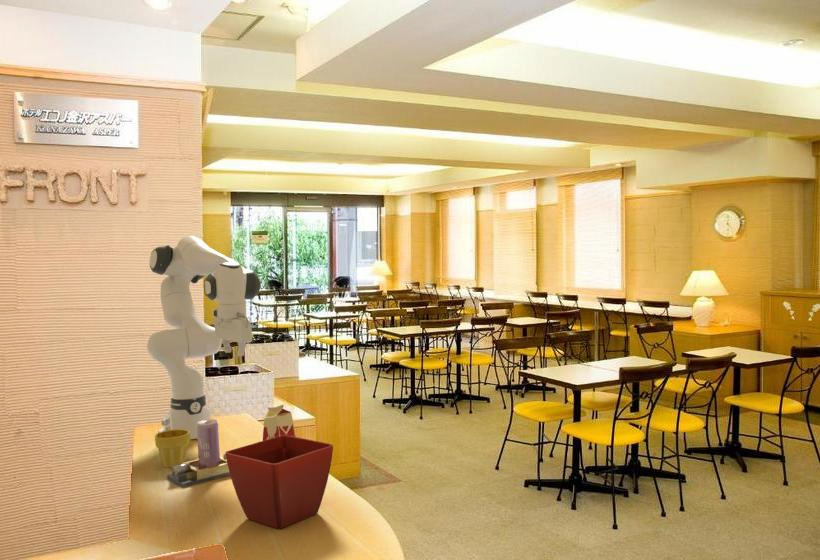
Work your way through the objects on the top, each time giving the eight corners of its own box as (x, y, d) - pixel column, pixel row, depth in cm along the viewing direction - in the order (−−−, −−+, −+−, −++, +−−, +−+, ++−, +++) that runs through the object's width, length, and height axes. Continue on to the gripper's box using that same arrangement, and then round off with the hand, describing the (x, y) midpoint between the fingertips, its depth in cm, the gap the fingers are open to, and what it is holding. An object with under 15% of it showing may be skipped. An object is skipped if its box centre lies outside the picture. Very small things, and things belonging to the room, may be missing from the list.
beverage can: (223, 468, 204) (221, 418, 204) (215, 475, 198) (213, 424, 198) (204, 468, 205) (201, 419, 204) (195, 475, 199) (193, 424, 198)
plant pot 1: (191, 466, 211) (189, 435, 211) (155, 471, 208) (153, 439, 208) (191, 457, 221) (190, 427, 221) (157, 461, 218) (155, 431, 218)
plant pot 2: (287, 496, 182) (284, 433, 181) (338, 511, 169) (335, 444, 169) (226, 520, 167) (223, 451, 166) (277, 538, 155) (274, 464, 154)
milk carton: (302, 469, 204) (299, 402, 203) (277, 477, 198) (273, 408, 197) (284, 463, 211) (281, 398, 210) (259, 471, 204) (255, 404, 203)
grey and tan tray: (167, 478, 201) (166, 462, 201) (233, 461, 214) (232, 446, 214) (183, 487, 192) (182, 470, 192) (251, 469, 206) (250, 453, 205)
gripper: (256, 313, 218) (258, 356, 219) (227, 309, 234) (229, 349, 234) (237, 315, 214) (239, 359, 215) (210, 311, 229) (212, 352, 230)
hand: (234, 354), depth 225 cm, fingers open, 8 cm apart
